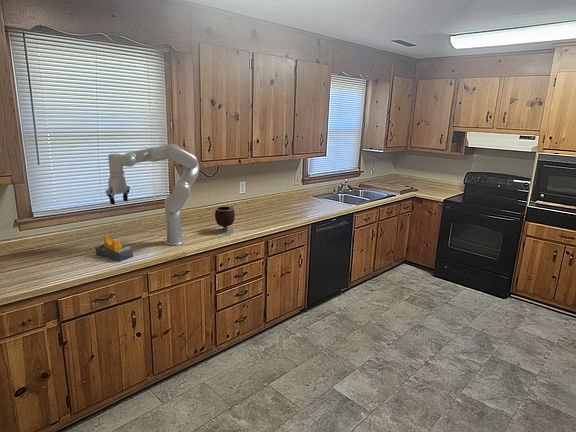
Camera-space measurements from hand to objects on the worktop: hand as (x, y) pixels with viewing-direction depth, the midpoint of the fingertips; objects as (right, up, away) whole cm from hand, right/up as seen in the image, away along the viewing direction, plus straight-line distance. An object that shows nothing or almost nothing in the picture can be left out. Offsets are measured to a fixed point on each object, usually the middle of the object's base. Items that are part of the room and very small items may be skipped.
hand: (119, 202), depth 237 cm
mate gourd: (+58, -19, +44) cm, 76 cm away
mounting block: (+1, -32, -9) cm, 33 cm away
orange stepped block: (+1, -27, -10) cm, 29 cm away
